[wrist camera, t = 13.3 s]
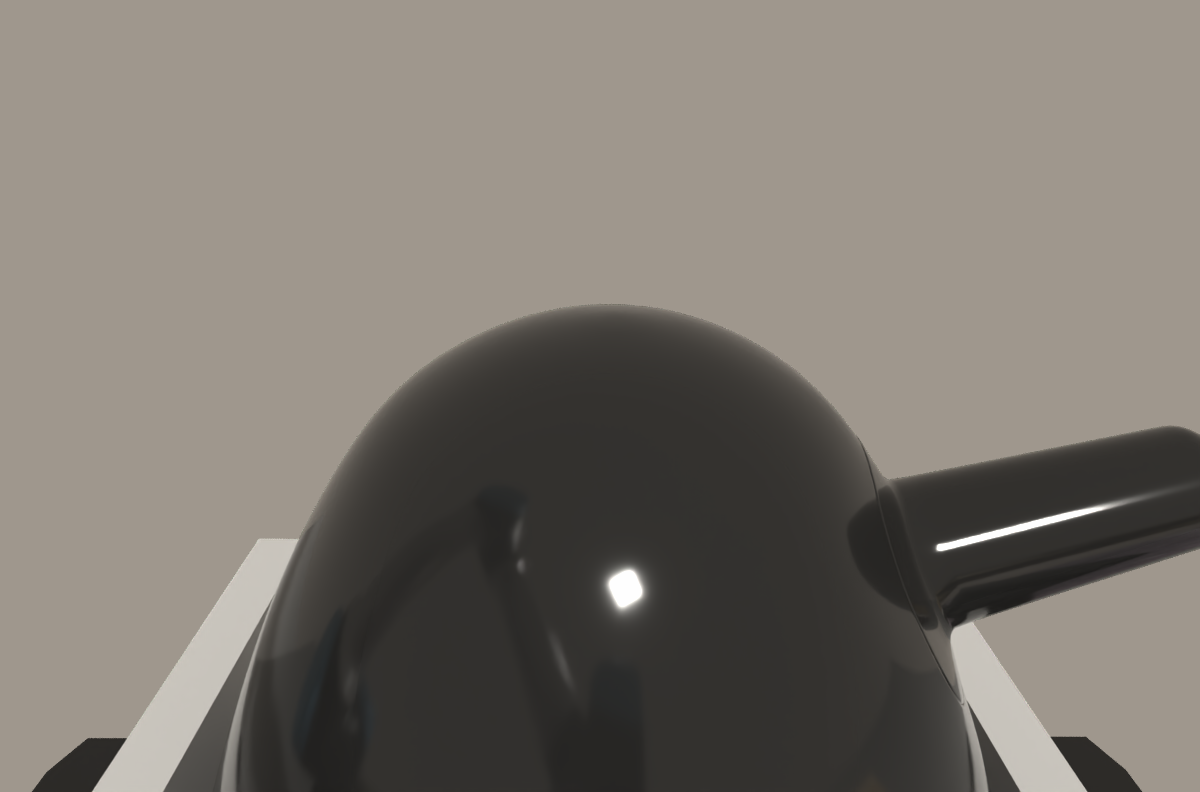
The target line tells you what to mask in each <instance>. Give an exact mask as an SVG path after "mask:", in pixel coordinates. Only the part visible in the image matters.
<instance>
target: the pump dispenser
mask: <svg viewBox="0 0 1200 792" xmlns="http://www.w3.org/2000/svg"><path fill="white" fill-rule="evenodd" d="M1198 549H1200V434H1198V433H1196V432H1194V431H1192V430H1189V429H1186V428H1183V427H1179V426H1162V427H1157V428H1151V429H1147V430H1141V431H1136V432H1131V433H1126V434H1121V435H1117V436H1111V437H1107V438H1101V439H1096V440H1091V441H1086V442H1081V443H1076V444H1071V445H1066V446H1061V447H1056V448H1051V449H1046V450H1041V451H1036V452H1031V453H1026V454H1021V455H1016V456H1011V457H1006V458H1001V459H996V460H991V461H986V462H981V463H976V464H970V465H965V466H960V467H955V468H950V469H945V470H940V471H934V472H929V473H924V474H919V475H914V476H909V477H902V478H896V479H890V480H889V479H886V478H885V477H884V476H883V475H882V474H881V472H880V471H879V469H878V468H877V466H876V465H875V463H874V462H873V460H872V458H871V457H870V455H869V454H868V452H867V450H866V449H865V447H864V446H863V444H862V443H861V441H860V440H859V438H858V437H857V436H856V435H855V433H854V432H853V431H852V430H851V428H850V427H849V425H848V424H847V423H846V421H845V420H844V419H843V418H842V416H841V415H840V414H839V413H838V412H837V410H836V409H835V408H834V407H833V406H832V404H830V402H829V401H828V400H827V399H826V398H825V397H824V396H823V395H822V394H821V393H820V392H819V391H818V390H817V389H816V388H815V387H814V386H813V385H812V384H811V383H810V382H808V381H807V380H806V379H805V378H804V377H803V376H802V375H800V373H798V372H797V371H796V370H795V369H794V368H792V367H791V366H790V365H788V364H787V363H785V362H784V361H783V360H781V359H780V358H778V357H777V356H775V355H774V354H773V353H771V352H770V351H768V350H767V349H765V348H763V347H761V346H760V345H758V344H756V343H754V342H752V341H751V340H749V339H747V338H745V337H743V336H741V335H739V334H737V333H735V332H733V331H730V330H728V329H726V328H723V327H721V326H719V325H716V324H714V323H711V322H708V321H706V320H703V319H699V318H696V317H693V316H689V315H686V314H682V313H679V312H674V311H670V310H665V309H659V308H653V307H645V306H635V305H619V304H618V305H617V304H598V305H581V306H572V307H564V308H559V309H554V310H549V311H544V312H540V313H536V314H531V315H528V316H524V317H522V318H518V319H515V320H512V321H510V322H507V323H504V324H501V325H498V326H496V327H493V328H491V329H489V330H487V331H485V332H482V333H480V334H478V335H476V336H474V337H472V338H470V339H468V340H466V341H464V342H462V343H461V344H459V345H457V346H455V347H453V348H452V349H450V350H448V351H447V352H445V353H443V354H442V355H440V356H438V357H437V358H436V359H434V360H433V361H431V362H430V363H429V364H427V365H426V366H424V367H423V368H422V369H420V370H419V371H418V372H416V373H415V374H414V375H413V376H412V377H411V378H410V379H408V380H407V381H406V382H405V383H404V384H403V385H402V386H400V387H399V388H398V389H397V390H396V391H395V392H394V393H393V394H392V395H391V396H390V397H389V399H388V400H387V401H386V402H385V403H384V404H383V405H382V406H381V407H380V408H379V410H378V411H377V412H376V413H375V414H374V416H373V417H372V418H371V419H370V421H369V422H368V423H367V424H366V426H365V427H364V429H363V430H362V431H361V433H360V434H359V435H358V437H357V438H356V440H355V441H354V442H353V444H352V445H351V447H350V449H349V450H348V452H347V453H346V455H345V456H344V458H343V459H342V461H341V463H340V464H339V466H338V468H337V469H336V471H335V473H334V474H333V476H332V478H331V479H330V481H329V483H328V485H327V486H326V488H325V490H324V492H323V494H322V495H321V497H320V499H319V501H318V503H317V505H316V506H315V508H314V510H313V512H312V514H311V516H310V518H309V520H308V522H307V524H306V526H305V528H304V530H303V532H302V534H301V536H300V538H299V540H298V542H297V544H296V546H295V548H294V550H293V553H292V555H291V557H290V559H289V562H288V564H287V566H286V568H285V570H284V573H283V575H282V577H281V580H280V582H279V585H278V587H277V589H276V592H275V594H274V597H273V599H272V602H271V605H270V607H269V610H268V613H267V615H266V618H265V621H264V623H263V626H262V629H261V631H260V634H259V637H258V640H257V643H256V646H255V649H254V651H253V654H252V657H251V660H250V663H249V666H248V669H247V672H246V676H245V679H244V682H243V685H242V688H241V691H240V694H239V698H238V701H237V704H236V707H235V711H234V714H233V717H232V721H231V724H230V728H229V731H228V734H227V738H226V742H225V745H224V749H223V753H222V756H221V760H220V764H219V768H218V772H217V776H216V780H215V784H214V788H213V792H991V790H990V786H989V781H988V777H987V772H986V768H985V764H984V760H983V756H982V751H981V748H980V744H979V740H978V737H977V733H976V730H975V726H974V723H973V719H972V716H971V713H970V709H969V706H968V703H967V700H966V697H965V693H964V690H963V687H962V684H961V680H960V676H959V672H958V668H957V664H956V660H955V656H954V652H953V649H952V645H951V634H952V632H953V630H954V629H955V628H957V627H960V626H963V625H965V624H968V623H971V622H973V621H976V620H979V619H982V618H985V617H988V616H991V615H994V614H997V613H1001V612H1003V611H1007V610H1009V609H1013V608H1016V607H1019V606H1022V605H1025V604H1028V603H1031V602H1034V601H1038V600H1041V599H1044V598H1047V597H1050V596H1053V595H1056V594H1060V593H1062V592H1066V591H1069V590H1072V589H1075V588H1078V587H1082V586H1084V585H1088V584H1091V583H1094V582H1097V581H1100V580H1104V579H1107V578H1110V577H1113V576H1116V575H1119V574H1122V573H1125V572H1129V571H1132V570H1135V569H1138V568H1141V567H1144V566H1148V565H1151V564H1154V563H1157V562H1160V561H1163V560H1166V559H1169V558H1173V557H1176V556H1179V555H1182V554H1185V553H1188V552H1191V551H1195V550H1198Z"/></svg>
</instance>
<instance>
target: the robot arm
mask: <svg viewBox="0 0 1200 792" xmlns="http://www.w3.org/2000/svg"><path fill="white" fill-rule="evenodd" d="M298 540H299V539H258V541H257V542H256V544H255V546H254V547H253V549H252V550H251V552H250V553H249V555H248V556H247V558H246V559H245V561H244V562H243V564H242V565H241V567H240V568H239V570H238V571H237V573H236V575H235V576H234V578H233V579H232V580H231V582H230V583H229V585H228V586H227V588H226V590H225V591H224V593H223V594H222V596H221V597H220V599H219V600H218V602H217V603H216V605H215V606H214V608H213V609H212V611H211V612H210V614H209V615H208V617H207V618H206V620H205V621H204V623H203V624H202V626H201V628H200V629H199V631H198V632H197V633H196V635H195V637H194V638H193V640H192V641H191V642H190V644H189V646H188V647H187V649H186V650H185V652H184V653H183V655H182V656H181V658H180V659H179V661H178V662H177V664H176V665H175V667H174V668H173V670H172V671H171V673H170V674H169V676H168V677H167V679H166V680H165V682H164V684H163V685H162V686H161V688H160V689H159V691H158V693H157V694H156V696H155V697H154V699H153V700H152V702H151V703H150V705H149V706H148V708H147V709H146V711H145V712H144V714H143V715H142V717H141V718H140V720H139V721H138V723H137V724H136V726H135V728H134V729H133V730H132V732H131V734H130V735H129V737H128V738H88V739H86V740H85V741H84V742H83V743H82V744H81V745H79V746H78V747H77V748H75V749H74V750H73V751H72V752H71V753H69V754H68V755H67V756H66V757H65V758H63V759H62V760H61V761H60V762H58V763H57V764H56V765H55V766H54V767H53V768H51V769H50V770H49V771H48V772H46V774H45V775H44V776H43V778H42V779H41V780H40V782H39V783H38V784H37V786H36V787H35V789H34V790H33V791H32V792H213V788H214V784H215V780H216V776H217V772H218V768H219V764H220V760H221V756H222V753H223V749H224V745H225V742H226V738H227V734H228V731H229V728H230V724H231V721H232V717H233V714H234V711H235V707H236V704H237V701H238V698H239V694H240V691H241V688H242V685H243V682H244V679H245V676H246V672H247V669H248V666H249V663H250V660H251V657H252V654H253V651H254V649H255V646H256V643H257V640H258V637H259V634H260V631H261V629H262V626H263V623H264V621H265V618H266V615H267V613H268V610H269V607H270V605H271V602H272V599H273V597H274V594H275V592H276V589H277V587H278V585H279V582H280V580H281V577H282V575H283V573H284V570H285V568H286V566H287V564H288V562H289V559H290V557H291V555H292V553H293V550H294V548H295V546H296V544H297V542H298ZM951 645H952V649H953V652H954V656H955V660H956V664H957V668H958V672H959V676H960V680H961V684H962V687H963V690H964V693H965V697H966V700H967V703H968V706H969V709H970V713H971V716H972V719H973V723H974V726H975V730H976V733H977V737H978V740H979V744H980V748H981V751H982V756H983V760H984V764H985V768H986V772H987V777H988V781H989V786H990V790H991V792H1142V791H1141V790H1140V788H1139V787H1138V786H1137V784H1136V783H1135V782H1134V780H1133V779H1132V778H1131V776H1130V775H1129V774H1128V772H1127V771H1126V770H1125V769H1124V768H1123V767H1122V766H1120V765H1119V764H1118V763H1117V762H1115V761H1114V760H1113V759H1112V758H1111V757H1109V756H1108V755H1107V754H1106V753H1105V752H1103V751H1102V750H1101V749H1100V748H1099V747H1098V746H1096V745H1095V744H1094V743H1093V742H1091V741H1090V740H1089V739H1088V738H1087V737H1050V736H1049V734H1048V733H1047V731H1046V730H1045V728H1044V727H1043V726H1042V724H1041V723H1040V721H1039V720H1038V718H1037V717H1036V715H1035V714H1034V712H1033V711H1032V709H1031V708H1030V706H1029V705H1028V703H1027V702H1026V700H1025V699H1024V697H1023V696H1022V694H1021V693H1020V692H1019V690H1018V689H1017V687H1016V686H1015V684H1014V683H1013V681H1012V680H1011V678H1010V677H1009V675H1008V674H1007V672H1006V671H1005V669H1004V668H1003V666H1002V665H1001V663H1000V662H999V660H998V659H997V658H996V656H995V654H994V653H993V652H992V650H991V649H990V647H989V646H988V644H987V643H986V641H985V640H984V638H983V637H982V635H981V634H980V632H979V631H978V629H977V628H976V627H975V625H974V623H973V622H971V623H968V624H965V625H963V626H960V627H957V628H955V629H954V630H953V632H952V634H951Z"/></svg>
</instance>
